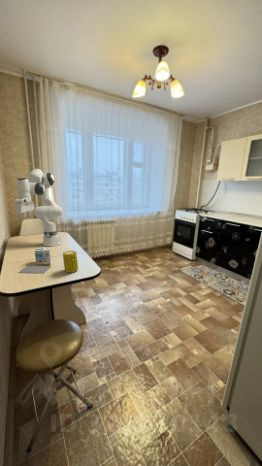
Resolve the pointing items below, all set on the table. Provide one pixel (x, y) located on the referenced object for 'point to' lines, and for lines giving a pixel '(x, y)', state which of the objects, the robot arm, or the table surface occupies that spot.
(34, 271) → the mat
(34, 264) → the rail
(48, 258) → the light bulb box
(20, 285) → the table surface
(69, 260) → the food
